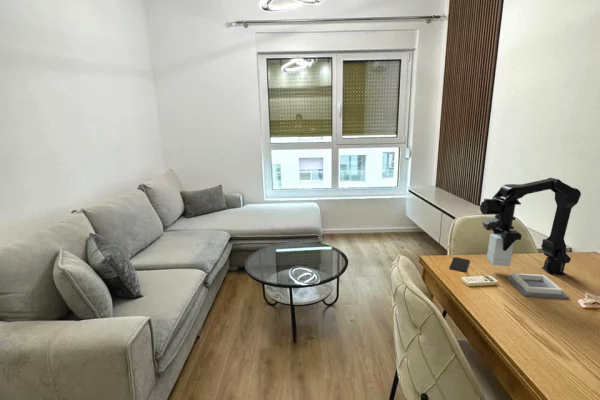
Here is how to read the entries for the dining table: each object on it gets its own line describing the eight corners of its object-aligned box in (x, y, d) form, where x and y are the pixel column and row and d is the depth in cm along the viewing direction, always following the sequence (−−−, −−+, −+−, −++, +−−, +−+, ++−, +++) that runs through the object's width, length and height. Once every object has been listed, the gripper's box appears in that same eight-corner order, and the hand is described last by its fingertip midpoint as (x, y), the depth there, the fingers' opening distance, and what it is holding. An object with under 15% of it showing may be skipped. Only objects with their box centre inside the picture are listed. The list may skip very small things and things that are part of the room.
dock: (544, 278, 139) (545, 273, 138) (569, 299, 123) (570, 292, 123) (505, 276, 141) (506, 270, 140) (524, 296, 126) (525, 289, 125)
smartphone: (453, 257, 161) (448, 269, 149) (453, 256, 161) (448, 267, 149) (470, 261, 157) (466, 273, 145) (470, 259, 157) (466, 271, 145)
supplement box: (510, 266, 139) (515, 240, 136) (492, 265, 141) (496, 238, 138) (503, 259, 146) (507, 234, 143) (486, 258, 148) (490, 232, 145)
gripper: (477, 207, 148) (473, 238, 152) (495, 220, 130) (490, 254, 134) (503, 208, 146) (498, 239, 150) (525, 220, 128) (518, 256, 132)
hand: (500, 247), depth 142 cm, fingers closed on supplement box, 7 cm apart
